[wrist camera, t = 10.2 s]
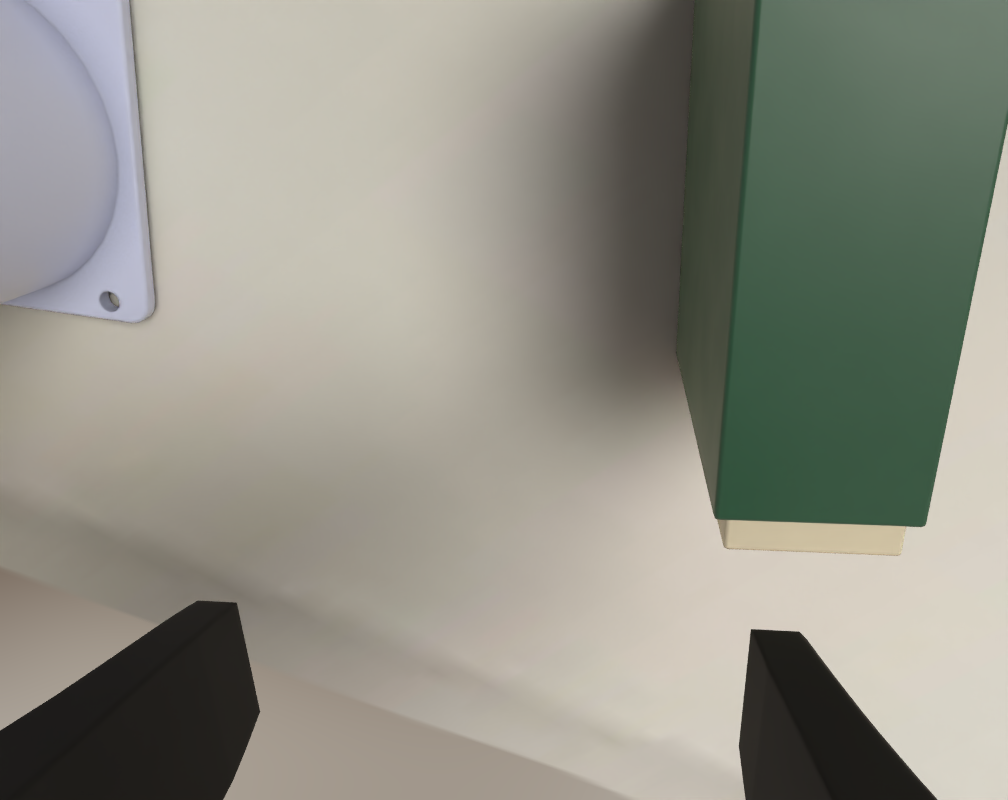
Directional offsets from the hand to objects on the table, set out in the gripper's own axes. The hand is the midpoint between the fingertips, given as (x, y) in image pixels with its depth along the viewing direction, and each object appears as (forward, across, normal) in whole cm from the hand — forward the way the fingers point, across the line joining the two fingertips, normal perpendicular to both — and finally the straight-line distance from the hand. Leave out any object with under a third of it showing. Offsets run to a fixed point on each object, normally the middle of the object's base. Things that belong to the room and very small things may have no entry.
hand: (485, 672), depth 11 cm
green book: (+9, -5, -5) cm, 12 cm away
